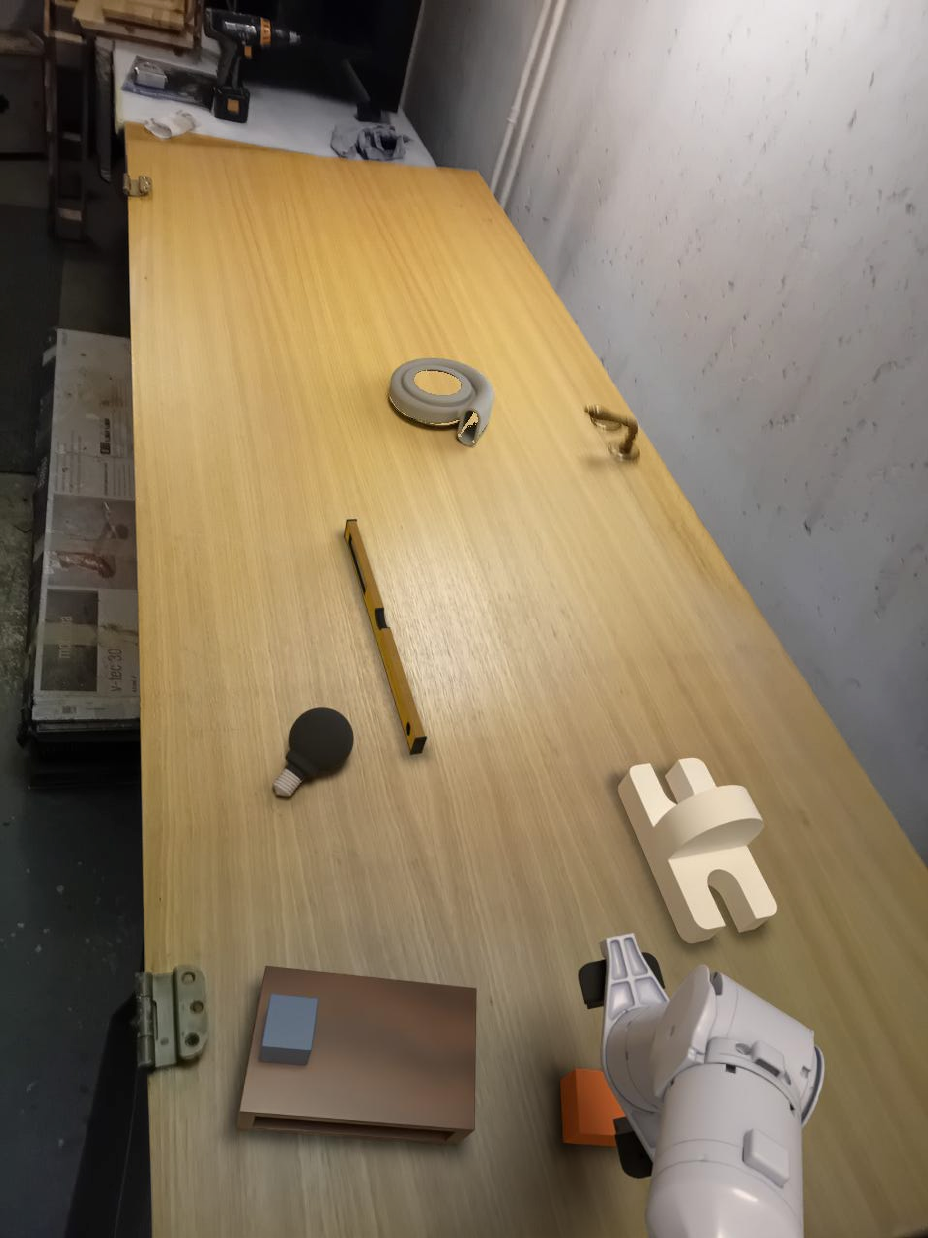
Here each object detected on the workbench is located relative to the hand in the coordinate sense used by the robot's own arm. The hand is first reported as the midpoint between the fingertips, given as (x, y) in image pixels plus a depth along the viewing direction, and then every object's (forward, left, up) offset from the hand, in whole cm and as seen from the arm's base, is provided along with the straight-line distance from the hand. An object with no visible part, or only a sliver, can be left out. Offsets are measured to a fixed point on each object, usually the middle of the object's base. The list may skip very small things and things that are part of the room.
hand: (613, 1060), depth 59 cm
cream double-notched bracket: (+24, -16, -13) cm, 32 cm away
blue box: (+1, +23, -7) cm, 24 cm away
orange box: (-1, -3, -13) cm, 13 cm away
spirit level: (+47, +19, -13) cm, 53 cm away
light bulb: (+28, +24, -13) cm, 40 cm away
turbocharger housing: (+96, +14, -13) cm, 98 cm away
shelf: (+1, +17, -13) cm, 21 cm away
